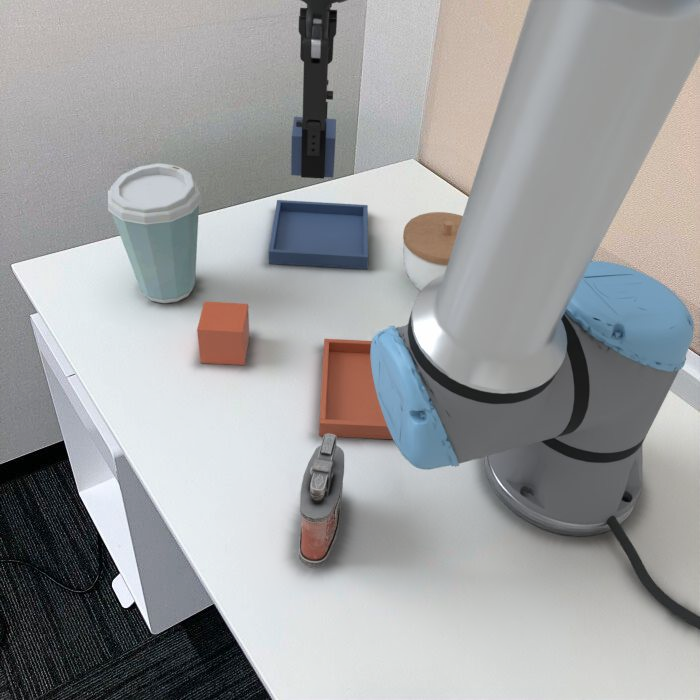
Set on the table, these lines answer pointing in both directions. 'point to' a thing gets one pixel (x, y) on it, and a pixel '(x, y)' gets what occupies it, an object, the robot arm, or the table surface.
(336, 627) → the table surface
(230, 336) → the terracotta block
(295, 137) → the slate block
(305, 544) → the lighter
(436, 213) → the trinket box
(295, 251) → the slate tray
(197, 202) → the disposable coffee cup
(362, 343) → the terracotta tray
